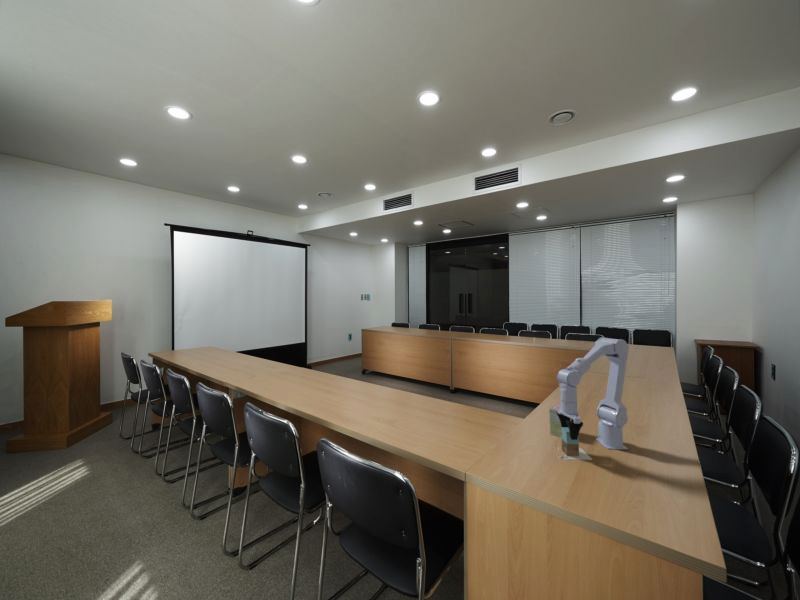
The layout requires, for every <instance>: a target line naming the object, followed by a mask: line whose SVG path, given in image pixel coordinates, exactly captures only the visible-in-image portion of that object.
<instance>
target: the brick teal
mask: <svg viewBox="0 0 800 600" xmlns="http://www.w3.org/2000/svg"><path fill="white" fill-rule="evenodd" d="M562 439H563V441H564V442H565V443H566V444H579V445H580V434H579V435H578V439H577V440H572V439H571V437H570V432H569V427H562V438H561V440H562Z"/></svg>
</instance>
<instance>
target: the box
mask: <svg viewBox="0 0 800 600" xmlns="http://www.w3.org/2000/svg"><path fill="white" fill-rule="evenodd" d="M559 406H561V403H557V404H554V405H553V406H551V407H550V408H549V409H548V414H549V435H551V436H553V435H554V437H556V438H557V437H558V438H561V439H562V426H561V423H560V420H559V417H558V415H557V412H558V411H559Z"/></svg>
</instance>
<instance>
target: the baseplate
mask: <svg viewBox="0 0 800 600" xmlns="http://www.w3.org/2000/svg"><path fill="white" fill-rule="evenodd" d="M552 447H553V446H552ZM557 447H558V450H559V447H560V446H557ZM553 448H554V447H553ZM563 453H564V452H563ZM558 457H559V456H558ZM558 457H557V458H558ZM560 457H561V458H564V459H563V460H581V461H582V460H585V461H587V460H588V461H592V460H593V459H592V458H591V456H590V455H589V454H588V453H586V451H584V450H583V449H582V447H579V456H566V454H565V456H560Z"/></svg>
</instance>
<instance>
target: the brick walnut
mask: <svg viewBox="0 0 800 600" xmlns="http://www.w3.org/2000/svg"><path fill="white" fill-rule="evenodd" d="M561 447H562V451H563V452H564V453H565V454H566V456H579V448H580V443H579V444H566V443H565V442H564V441H563V439H562V438H561Z"/></svg>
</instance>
